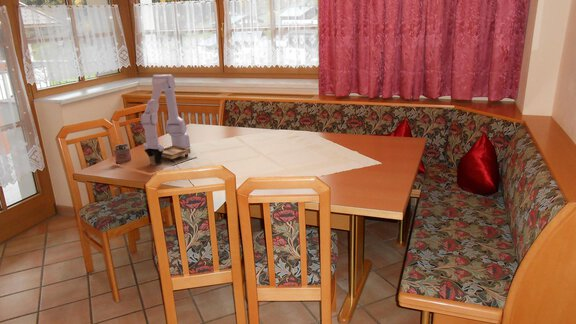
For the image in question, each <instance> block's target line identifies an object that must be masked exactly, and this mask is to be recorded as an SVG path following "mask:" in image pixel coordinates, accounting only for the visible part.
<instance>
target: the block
mask: <svg viewBox="0 0 576 324" xmlns="http://www.w3.org/2000/svg"><path fill="white" fill-rule="evenodd" d="M148 159H149V164H150V165H152V166H157V165H160V164H162V161H161V163H159V164H156V161H155V157H154V155H152V156H148Z"/></svg>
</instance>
